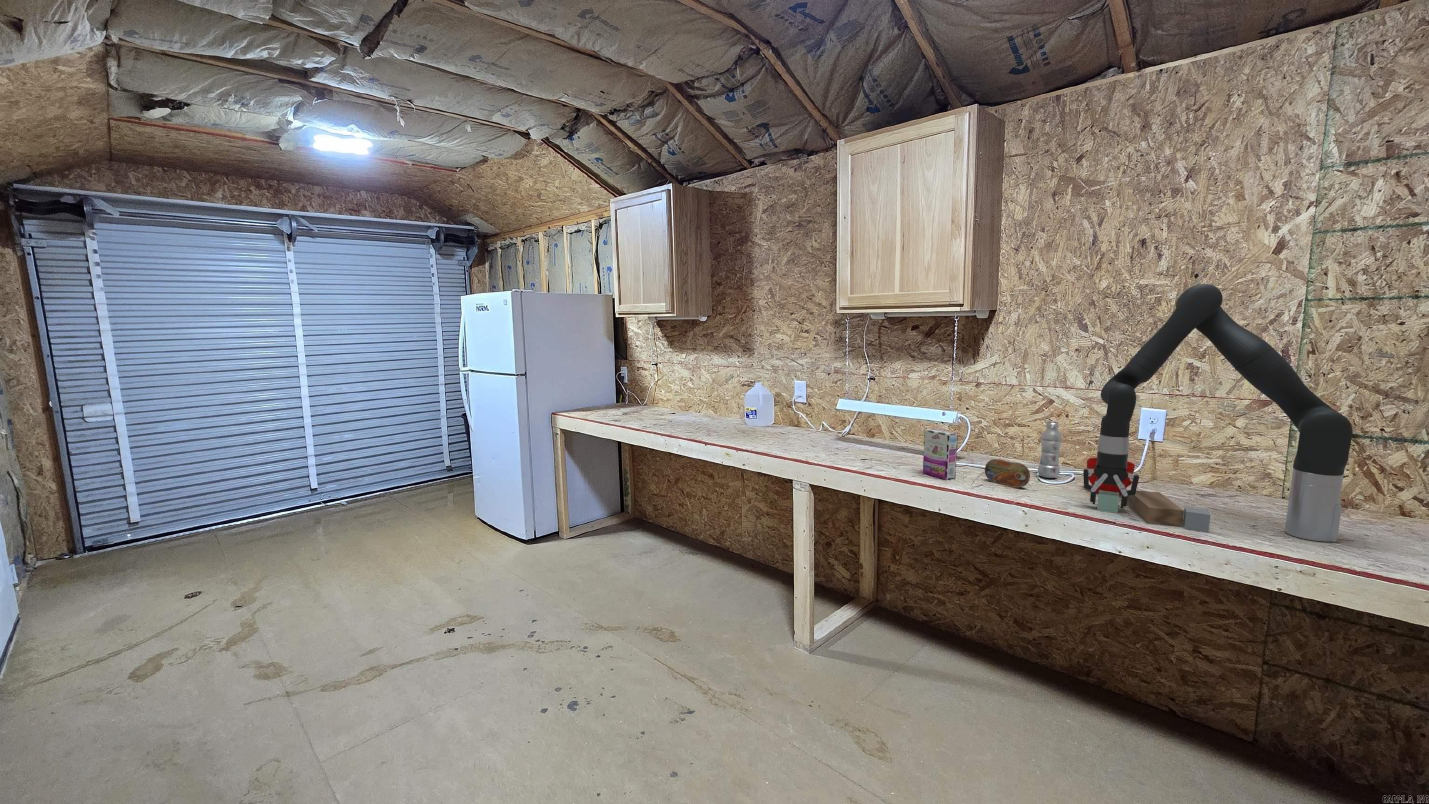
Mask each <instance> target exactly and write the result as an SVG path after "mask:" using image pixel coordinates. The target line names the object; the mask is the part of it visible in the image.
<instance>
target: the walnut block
mask: <svg viewBox="0 0 1429 804" xmlns="http://www.w3.org/2000/svg"><path fill="white" fill-rule="evenodd" d="M1126 507H1129V508H1130V510H1132V511H1133V512H1134V513H1135V514H1136V515H1137V516H1138V517H1139V518H1140V519H1142V520H1143V521H1144V522H1145V523H1146V524H1148V525H1155V526H1166V527H1167V526H1169V527H1178V528H1179V527H1180V528H1183V517H1184V508H1183V509H1182V507H1180V506H1179V505H1177V504H1176V503H1174V502H1173V501H1172V500H1170V499H1169V498H1168V497H1167V496H1165V495H1163V494H1162V493H1161V492H1159V491H1148V490H1147V491H1146V490H1136V494H1135V495H1129V496H1128V497H1127V506H1126Z"/></svg>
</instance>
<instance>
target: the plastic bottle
mask: <svg viewBox="0 0 1429 804" xmlns="http://www.w3.org/2000/svg"><path fill="white" fill-rule="evenodd" d="M1059 424H1060V423H1059V422H1057V421H1050V420H1049V421H1046V425H1045V428H1046V429H1045V430H1044V431H1043V432H1042V433H1041V436H1040V440H1041V441H1040V442H1041V452H1040V454H1041V455H1040V459H1039V464H1038V467H1037V474H1038V475H1039V476H1040V477H1043V478H1045V479H1056V478H1058V476H1059V475H1060V466H1059V463H1060V462H1059V459H1060V458H1059V456H1060V451H1061V450H1060V449H1061V445H1062V441H1063V435H1062V433H1061V432H1060V430H1059Z"/></svg>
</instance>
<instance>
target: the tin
mask: <svg viewBox="0 0 1429 804" xmlns="http://www.w3.org/2000/svg"><path fill="white" fill-rule="evenodd" d="M984 473H985V474H984V475H985V477H986V478H987V480H988V481H989V482H991V483H992V484H993V483H994V484H997V485H1002V486H1006V487H1009V488H1012V489H1013V488H1015V489H1017V488H1018V489H1019V488H1023V487H1025V486H1027V485H1028V484H1029V481H1030V478H1031V472H1030V470H1029V468H1028V467H1027V466H1026V465H1025V464H1023V463H1020V462H1018V461H1017V462H1015V461H1010V460H1007V459H1000V458H993V459H992V458H991V459H990V460H988V461H987V462H986V464H985V466H984Z"/></svg>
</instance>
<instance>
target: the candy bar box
mask: <svg viewBox="0 0 1429 804" xmlns="http://www.w3.org/2000/svg"><path fill="white" fill-rule="evenodd" d="M958 435H959V434H958V432H952V431H947V430H942V429H937V428H928V429H924V439H923V441H924V442H923V459H922V460H923V461H922V474H924V475H927V476H930V477H936V478H938V479H942V480H946V481H949V480H955V479H956V477H957V476H956V475H957V474H956V473H957V471H956V470H957V458H958V457H957V454H958V439H959V438H958Z"/></svg>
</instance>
